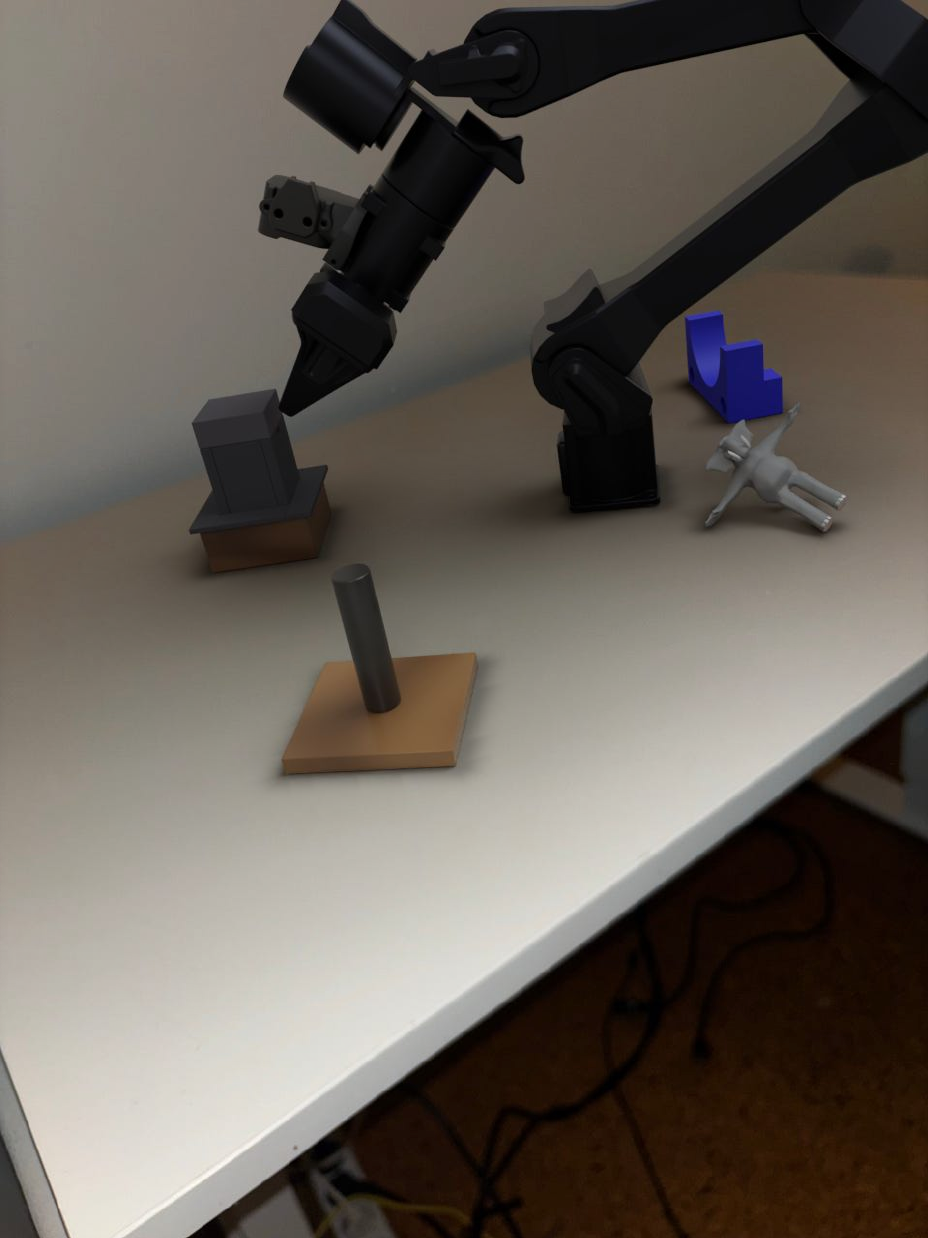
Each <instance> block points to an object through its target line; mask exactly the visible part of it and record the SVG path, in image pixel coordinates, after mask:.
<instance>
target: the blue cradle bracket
mask: <svg viewBox="0 0 928 1238" xmlns="http://www.w3.org/2000/svg"><path fill="white" fill-rule="evenodd" d="M724 323H725V322H724V313H723V312H721V311H720V310H713V311H707V312H702V313H701V312H700V313H697V314H692V315H687V316H684V325H685V327H684V328H685V342H686V357H687V358H686V359H687V374H688V382H689V384H691V386H692V387H693V388H694V389H695V390H696V391H697V392H698V393H699V394H700V395H701V396H702V397H703V398H704V399H705V400H706V401H707V403H709V404H710V405H711V406H712V408H713V409H714V410H715V411H716V412H717V413H719V415H720V416H721V417H722V418H723V419H724V420H725V421H726V422H727V423H728V424H731V423H738V422H740V421H741V420H745V421H747V420H752V419H758V418H763V417H767V416H768V417H769V416H773V415H778V414H779V415H780V414H783V413H784V399H783V398H784V397H783V395H784V394H783V391H784V390H783V376H782V375H780V374H779V373H778V372H776V370H774V369H773V368H772V367H770V368H766V369H765V368H764V367H765V366H764V365H765V363H764V343H762V342H761V341H760V340H759V339H757V338H756V339H752V340H745V341H740V342H735V343H730V344H728V343H727V338H726V331H725V324H724Z"/></svg>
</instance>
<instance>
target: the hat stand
mask: <svg viewBox="0 0 928 1238" xmlns="http://www.w3.org/2000/svg"><path fill="white" fill-rule="evenodd" d="M373 579H374V578H373V575H372V571H371V567H370V566H369V565H367V564H365V563H350V564H346V565H343V566H341V567H338V568H336V569H335V570H334V571H333V572H332V573H331V577H330V580H331V583H332V587H333V590H334V595H335V599H336V602H337V606H338V611H339V614H340V617H341V622H342V625H343V628H344V633H345V636H346V641H347V643H348V648H349V651H350V655H351V659H352V660H346V661H345V660H344V661H343V660H342V661H329V662H325V663H324V665H323V666H322V669H321V671H320V673H319V676H318V678H317V680H316V682H315V684H314V687H313V689H312V691H311V693H310V695H309V697H308V700H307V702H306V704H305V706H304V709H303V711H302V713H301V715H300V717H299V719H298V721H297V724H296V726H295V728H294V730H293V732H292V735H291V737H290V739H289V742H287V743H288V744H287V746H286V747H285V750H284V752H283V753H282V754H283V755H282V757H281V763H282V766H283V769H284V772H285V774H287V775H290V774H311V773H331V772H334V773H335V772H353V771H354V772H355V771H374V770H376V771H377V770H395V769H396V770H397V769H416V768H417V769H418V768H438V767H455V766H456V765H457V762H458V758H459V753H460V748H461V745H462V744H461V743H462V740H463V735H464V730H465V727H466V722H467V717H468V714H469V713H468V712H469V709H470V704H471V699H472V696H473V690H474V686H475V682H476V678H477V672H478V669H479V663H478V658H477V653H476V652H474V651H473V652H461V653H460V652H459V653H445V654H432V655H431V654H430V655H418V656H402V657H401V656H400V657H392V654H391V650H390V645H389V641H388V637H387V633H386V629H385V625H384V621H383V616H382V611H381V609H380V604H379V600H378V599H379V598H378V596H377V592H376V588H375V583H374V580H373Z"/></svg>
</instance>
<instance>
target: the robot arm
mask: <svg viewBox="0 0 928 1238" xmlns="http://www.w3.org/2000/svg"><path fill="white" fill-rule="evenodd" d="M801 35H803V36H804V37H806V38H807V39H808V40H810V42H811V43H812V44H813V45H814V46H815V47H816V48H817V49H818V50H819V51H820V52H821V53H822V55H824V57H826V59H827V60H828V61H829V62H830V63H831V64H832V65H833V66H834V67H835V68H836V69H837V70H838V71H839V72H840V73H841V74H842V75H844V76H845V77H846V78H847V79H848V81H847V82H846V83H845V84H844V85H843V86H842V87H841V89H840V90H839V91H838V93H837V94H836V95H835V97H834V98H833V100H832V101H831V102H830V104H829V105H828V107H827V108H826V109H825V110H824V112H823V114H822V115H821V116H820V118H819V119H818V121H816V123H815V124H814V125H813V127H811V129H810V130H809V131H808V132H807V133H805V134H804V135H803V136H802V137H801V138H799V139H798V140H797V141H796V142H794V143H793V144H792V145H791V146H788V148H786V149H785V150H784V151H783V152H781V153H780V154H779V155H778V156H776V158H774V159H772V160H771V161H770V162H769V163H767V164H766V165H765V166H763V167H762V168H761V169H760V170H758V172H756V173H755V174H754V175H752V176H751V177H750V178H748V179H747V180H746V181H745V182H743V183H742V184H740V186H738V187H737V188H736V189H734V190H733V191H732V192H730V193H729V194H728V195H727V196H726V197H724V198H723V199H722V200H721V201H718V203H717V204H716V205H714V206H713V207H711V208H710V209H709V210H708V211H707V212H705V213H703V214H702V216H700V217H699V218H698V219H696V220H694V222H692V223H691V224H690V225H689V226H687V227H686V228H684V229H683V230H682V231H681V232H680V233H679V234H677V235H676V236H675V237H673V238H672V239H670V240H669V241H668V242H666V244H665V245H663V246H662V247H661V248H659V249H658V250H657V251H656V252H654V253H653V254H652V255H651V256H649V257H648V258H647V259H645V260H644V261H643V262H642V263H640V264H639V265H637V266H636V267H635V268H634V269H633V270H631V271H629V272H627V273H625V274H623V275H621V276H618V277H616V278H614V279H611V280H608V281H605V282H603V283H599V281H598V279H597V276H596V275H595V272H594V270H593V269H592V268H588V269H587V270H585V271H584V272H583V273H582V274H581V275H580V276H579V277H578V278H577V279H576V281H574V283H573V284H572V285H571V286H570V287H569V288H568V289H567V290H566V291H565V292H564V293H562V294H560V295H559V296H557V297H555V298H552V299H549V300H546V301H544V302H543V310H544V311H543V312H544V314H543V315H542V316H541V317H540V319H539V320H537V322H536V323H535V325H534V328H533V329H532V333H531V338H530V345H529V353H530V355H529V356H530V369H531V370H530V371H531V376H532V382H533V385H534V387H535V389H536V390H537V392H538V395H539V396H540V397H541V398H542V399H543V400H544V401H545V402H546V403H548V404H549V405H551V406H553V407H555V408H558V409H560V410H563V417H562V423H561V425H562V430H561V431H560V432H558V436H557V441H556V450H557V457H558V465H559V473H560V480H561V482H560V483H561V489H562V494H563V495H564V496H565V497H569V498H568V509H569V512H570V513H579V512H580V513H581V512H591V511H601V510H602V511H603V510H611V509H622V508H632V507H641V506H653V505H657V504H660V503H661V488H660V473H659V470H660V469H659V465H658V464H657V458H656V456H657V455H656V445H655V444H656V443H655V433H654V432H655V431H654V421H653V419H654V418H653V408H652V407H653V402H654V399H653V397H652V394H651V390H650V388H649V385H648V383H647V380H646V378H645V375H644V372H643V370H642V367H641V364H640V361H641V360H642V358H643V357H644V355H645V354H646V353H647V352H648V350H649V349H650V348H651V346H652V345H653V344H654V342H655V341H656V339H657V338H658V336H659V335H660V334H661V333H662V332H663V330H664V329H665V328H666V327H667V326H668V325H669V324H670V323H672V322H673V321H674V320H675V319H677V318H678V317H679V316H681V315H682V314H683V313H685V312H686V311H687V310H689V309H690V308H691V307H693V306H694V305H695V304H697V303H698V302H700V301H701V300H702V299H703V298H705V297H706V296H707V295H709V294H710V293H711V292H713V291H714V290H716V289H717V288H718V287H719V286H721V285H722V284H724V283H725V282H726V281H728V280H729V279H730V278H732V276H735V274H737V273H738V272H740V271H741V270H742V269H743V268H745V267H746V266H747V265H749V264H750V263H751V262H753V261H754V260H755V259H757V258H759V256H761V255H762V254H763V253H764V252H766V251H767V250H769V249H770V248H771V247H772V246H774V245H775V244H776V243H778V242H779V241H781V240H782V239H783V238H785V237H786V236H787V235H789V234H790V233H791V232H792V231H794V230H795V229H797V228H798V227H799V226H800V225H802V224H803V223H805V222H806V221H808V220H809V219H810V218H811V217H813V216H814V215H815V214H816V213H818V212H819V211H820V210H822V209H823V208H824V207H826V206H827V205H829V204H830V203H831V202H832V201H834V200H835V199H837V198H838V197H839V196H840V195H842V194H844V193H845V192H846V191H847V190H848V189H850V188H851V187H853V186H855V185H857V184H859V183H861V182H863V181H866V180H869V179H871V178H873V177H876V176H878V175H881V174H883V173H886V172H889V171H892V170H894V169H897V168H898V167H899V168H900V167H901V166H904V165H906V164H909V163H911V162H913V161H915V160H917V159H919V158H920V157H923V156H924V155H926V154H928V18H927V17H926V16H924V15H923V14H922V13H920V12H919V11H917V10H916V9H914V8H913V7H912V6H911V5H909V4H908V3H906V2H904V1H903V0H631V1H625V2H622V3H617V4H612V5H582V6H581V5H573V6H571V5H570V6H569V5H568V6H563V5H562V6H523V7H522V6H519V7H503V8H502V7H501V8H497V9H494V10H493V11H490V12H488V13H485V14H484V15H483V16H482V17H480V18H479V19H478V20H476V22H474V24H473V25H472V27H471V28H470V30H469V32H468V33H467V35H466V36H465V39H463V43H462V44H460V45H456V46H453V47H451V48H448V49H446V50H443V51H439V52H438V51H437V50H436V49H435V48H431V49H428V50H427V51H426V53H425V55H424V56H423V58H420V59H418V57H417V56H416V55H415V54H413V53H412V52H410V50H408V48H406V47H404V46H403V45H402V44H400V43H399V41H397V40H396V39H394V38H393V37H392V36H390V35H389V34H388V33H386V31H385V30H383V29H382V28H380V27H379V26H378V25H377V24H376V23H375V22H374V20H372V18H371V17H370V16H369V15H368V14H367V12H366V11H365V10H364V9H362V8H361V7H360V6H359V5H357V4H356V2H354V1H353V0H340V1H338V4H337V6H336V8H335V9H334V11H333V13H332V15H331V16H330V17H329V18H328V20H326V22H325V23H324V24H323V26H322V27H321V29H320V30H319V31H318V33H317V35H316V37H315V38H314V39H313V41H312V43H311V44H307V45H306V46H305V47H304V49H303V51H302V52H301V54H300V55H299V58H298V59H297V61H296V63H295V65H294V67H293V69H292V71H291V73H290V76H289V77H288V79H287V82H286V84H285V87H284V90H283V93H282V97H283V99H285V101H287V102H288V103H290V104H291V105H293V106H294V107H295V108H296V109H298V110H299V111H300V112H302V114H304V115H305V116H307V117H308V118H310V119H311V120H312V121H313V122H315V123H316V124H317V125H319V126H320V127H321V128H323V129H324V130H325V131H326V132H328V133H329V134H331V135H332V136H333V137H334V138H336V139H337V140H339V141H340V142H341V143H342V144H344V146H347V148H349V149H350V150H352V151H353V152H355V153H356V154H357V155H360V154H361V153H362V151H363V150H364V149H365V147H368V149H370V150H371V149H372V147H373V145H374V146H375V148H377V149H378V150H379V151H381V152H383V151H384V149H385V148H386V146H387V145H388V144H389V143H390V140H391V139H392V138H393V136H394V134H395V133H396V131H397V129H398V128H399V127H400V125H401V124H402V122H403V119H404V118H405V117H406V115H407V113H408V112H409V110H410V109H411V106H412V105H413V104H414V105H415V106H416V107H417V108H418V109H420V111H419V113H418V114H417V116H416V117H415V119H414V121H413V122H412V124H411V126H409V129H408V131H406V134H405V135H404V137H403V139H402V140H401V142H400V144H399V145H398V147H397V148H396V150H395V151H394V153H393V154H392V156H391V158H390V159H389V161H388V162H387V164H386V166H385V167H384V169H383V170H382V172H381V173H380V176H379V177H378V178H377V180H376V181H375V183H374V185H373V184H371V183H369V184H368V186H367V188H366V189H365V190H364V191H363V193H362V195H361V196H360V198H358V197H355V196H351V195H349V194H346V193H342V192H340V191H338V190H335V189H332V188H329V187H326V186H325V187H324V186H322V185H319V184H316V182H315V181H312V180H311V181H309V182H307V181H304V180H301V179H297V176H295V175H291V176H288V175H282V174H274V175H272V176H271V177H270V178H269V179H267V180H266V181H265V185H264V186H265V187H264V191H263V197H262V200H260V201H259V204H258V208H259V212H260V216H259V220H258V221H259V222H258V227H257V232H258V233H259V234H260V235H263V236H264V237H267V238H270V239H274V240H278V239H280V238H282V239H285V240H289V241H293V242H296V243H300V244H302V245H307V246H309V247H312V248H317V249H322V250H327V251H326V252H325V254H324V255H323V257H322V259H321V260H322V261H323V262H324V263H323V264H322V266H321V268H320V269H319V271H318V272H313V274H312V276H311V277H310V279H309V280H308V282H307V284H306V285H305V287H304V288H303V289H302V291H301V293H300V294H299V296H298V298H297V300H296V301H295V303H294V304H293V306H292V307H291V309H290V311H291V321H292V323H293V324H294V326H295V327H296V330H297V333H298V335H299V336H298V338H299V339H300V346H299V349H298V351H297V354H296V357H295V360H294V362H293V365H292V368H291V371H290V373H289V376H288V379H287V382H286V384H285V387H284V389H283V393H282V395H281V398H280V399H279V402H280V403H279V406H278V409H279V410H280V411H281V412H282V413H283V415H285V416H287V417H288V418H292V417H295V416H296V415H298V414H299V413H301V412H302V411H304V410H306V409H308V408H310V406H312V405H314V404H316V403H317V402H319V401H320V400H322V399H324V398H325V397H327V396H329V395H331V394H332V393H334V392H335V391H337V390H339V389H341V388H342V387H344V386H346V385H347V384H350V383H351V382H352V381H354V380H356V379H357V378H359V377H361V376H363V375H365V374H369V373H371V372H372V371H373V370H378V369H379V368H380V366H381V365H382V363H383V362H384V360H385V358H386V357H387V356H388V355H389V353H390V352H391V350H392V348H393V347H394V344H395V342H396V338H397V334H398V327H397V322H396V317H395V311H396V312H397V313H399V314H401V313H402V312H403V311H404V309H405V308H406V306H407V305H408V303H409V302H410V299H411V295H412V292H413V291H414V290H415V288H416V286H417V285H418V284H419V282H420V280H421V279H422V278H423V276H424V274H425V273H426V271H427V270H428V269H429V267H430V266H431V265H432V263H433V262H434V261H435V262H437V260H438V259H439V257H440V256H441V254H442V253H443V251H444V250H445V248H446V244H447V240H448V239H449V237H450V236H451V235H452V233H453V231H454V230H455V228H457V226H458V225H459V222H460V221H461V219H462V218H463V216H464V215H465V214H466V212H467V210H469V208H470V206H471V205H472V203H473V202H474V200H475V199H476V197H477V196H478V194H479V193H480V192H481V191H482V188H483V187H484V186H485V184H486V182H487V181H488V179H489V178H490V176H491V175H492V173H493V172H494V171H495V169H496V170H497V171H498V172H500V173H501V174H502V175H503V176H505V177H507V179H508V180H510V181H511V182H512V183H514V184H516V185H521V184H523V183H524V182H525V179H526V176H525V171H524V167H523V160H522V154H523V153H522V151H523V144H524V137H523V135H522V134H521V133H519V132H518V133H515V134H512V135H508V136H503V135H502V134H501V133H499V132H498V131H496V130H495V129H494V128H493V127H492V126H490V125H489V124H488V123H486V122H485V121H484V120H483V119H482V118H480V117H479V116H478V115H477V114H475V113H474V112H473V111H472V110H470V109H469V108H466V110H465V111H464V113H463V115H461V118H460V119H459V120H457V119H455V118H454V117H453V116H451V115H450V114H448V112H446V111H445V110H444V109H442V108H441V107H439V106H438V105H437V104H436V103H434V102H433V101H432V100H430V99H429V98H428V97H427V96H425V95H424V94H423V93H422V92H421V91H419V90H418V89H416V87H414V86H413V85H414V83H415V82H416V83H417V84H418V85H419V86H421V87H422V88H423V89H424V90H426V91H427V92H428V93H430V95H432V96H434V97H436V98H437V97H439V98H463V99H464V98H468V99H471V101H472V102H473V103H474V105H476V107H478V108H480V109H481V110H482V111H483V112H484V113H486V114H487V115H490V116H491V117H494V118H499V119H517V118H520V117H524V116H527V115H529V114H530V113H531V114H532V113H533V112H535V111H538V110H540V109H543V108H545V107H548V106H550V105H552V104H555V103H557V102H560V101H562V100H564V99H566V98H569V97H572V96H573V95H575V94H578V93H580V92H582V91H584V90H586V89H588V88H591V87H592V86H593V87H594V86H595V85H597V84H599V83H601V82H603V81H606V80H608V79H610V78H613V77H615V76H618V75H620V74H623V73H628V72H632V71H638V70H642V69H647V68H651V67H656V66H661V65H664V64H670V63H676V62H680V61H684V60H688V59H693V58H699V57H703V56H707V55H711V54H716V53H721V52H726V51H730V50H735V49H740V48H744V47H749V46H754V45H759V44H764V43H768V42H772V41H777V40H782V39H787V38H791V37H795V36H801Z"/></svg>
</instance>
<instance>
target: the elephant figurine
mask: <svg viewBox="0 0 928 1238" xmlns="http://www.w3.org/2000/svg"><path fill="white" fill-rule="evenodd" d="M800 408H801V404H800V403H799V402H796V403H795V405H793V407H792V408H791V409H789V410H788V412H787V413H786V415H784V418H783V421H782V423H781V424H780V425H779V427H777V428H776V429H775V430H773V431H772V432H771V433H770V434H768V435H767V436H766V437H765V438H764V439H763V440H761V441H760V443H758V444H757V445H755V446H753V447H752V445H751V443H752V439H753V438H754V434H753V433H752V432H751V431H750V430H749V429H748V427H747V425H746V420H741V421H737V422H736V424H735V425H734V426H733V427H732V429H731V431H730V432H729V434H728V435H726V436H723V437H722V438H720V440H719V441H718V443H717V449H716V450H715V452H714V453H713V454H712V455H711V456H710V457H709V459H707V462H706V464H705V468H704V470H705V472H710V471H716V472H721V473H723V474H724V473H725V474H727V471H729V470H730V469H732V468H733V467H734V469H733V470H732V474H731V478H730V481H729V483H728V485H727V488H726V490H725V492H724V494H723V495H722V497H721V499H720V501H719V503H718V505H717V506H716V508H714V509H713V510H711V512H710V513H709V516H708V518H707V520H706V521H704V526H705V527H706V528H709V527H712V526H713V524H715V522H717V521H718V520H719V519H720V518H721V517H722V516H723V514H724V512H725V511H726V509H727V508H728V507H729V505H730V504H731V503H732V502H733V501H734V500H735V499H736V498H738V496H739V495H740V494H741V492H742V491H743V490H744V489H745V488H747V487H749V488H752V489H753V491H755V493H756V495H757V496H758V497H759V499H761V500H762V501H764V502H765V503H769V504H779V505H780V506H782V507H784V508H785V509H787V510H789V511H791V512H792V513H794V514H796V515H798V516H799V517H802V518H803V519H805V521H807V522H808V523H810V524H811V525H812V526H814V527H815V528H816V529H818V530H820V531H822V533H825V532H827V531H829V529H830V528H831V527H832V525H833V522H834V518H833V516H830V515H828V514H827V513H825V512H823V511H822V510H820V509H818V507H816V506H814V505H812V504H811V503H809V502H808V501H806V500H804V499H803V498H801V497H800V496H798V495H797V494H796V493H793V492H792V491H791V489H792V488H793V487H796V488H797V489H799V490H801V491H804V492H806V493H808V494H809V495H811V496H813V497H814V498H816V499H817V500H819V501H821V502H823V503H825V504H827V505H828V506H830V507H832V508H833V509H834V510H836V511H841V510H842V509H843V508H844V507H845V506H846V504H847V502H848V497H849V496H848V495H846V494H844V493H842V492H841V491H838V490H836V489H835V488H834V489H833V488H832V487H830V486H827V485H826V484H824V483H822V482H821V481H819V480H817V479H816V478H814V477H813V476H811V475H810V474H808V473H806V472H805V471H802V470H799V469H798V467H797V465H796V464H795V463H794V462H793V460H791V459H790V458H788V457H787V456H785V455H779V456H778V455H776V454H775V450H776V448H777V447H778V446H779V444H780V442H781V439H782V438H783V436H784V434H785V433H786V432H787V430H788V429H789V428H791V427H792V425H794V423H795V421H796V417H797V415H798V414H799V412H800Z"/></svg>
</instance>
